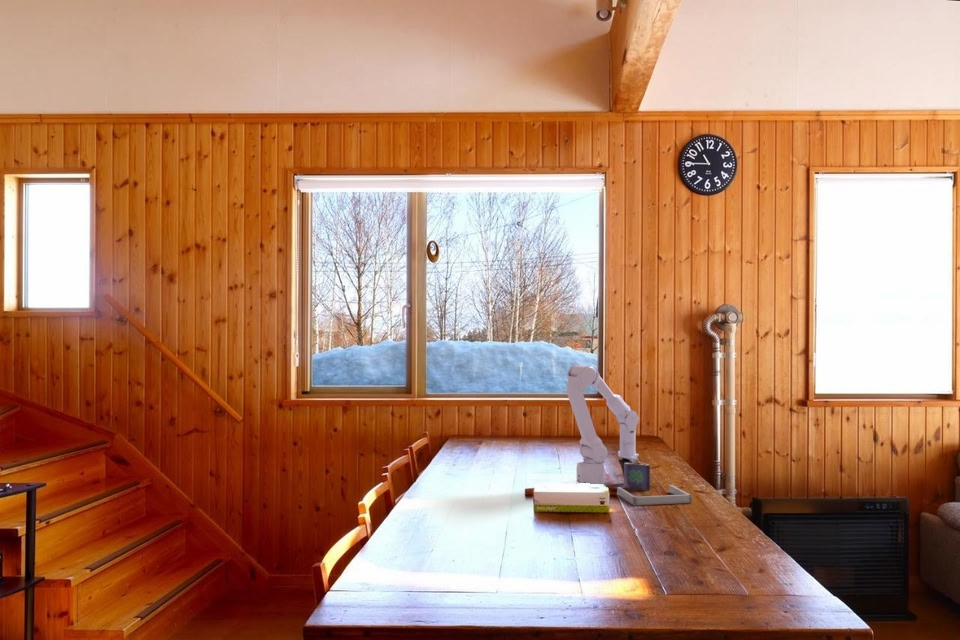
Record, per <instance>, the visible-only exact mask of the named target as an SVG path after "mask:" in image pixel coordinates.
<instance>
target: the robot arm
mask: <svg viewBox="0 0 960 640" xmlns="http://www.w3.org/2000/svg"><path fill="white" fill-rule="evenodd" d="M566 376H567V388H566V393H567V398H568V400H569V403H570V406H571V410H572V413H573V415H574V416H573V417H574V418H575V421H576V422H575V423H576V424H577V428H578V431H579V433H580V436H581V438H580V440H579V445H580V447H579V448H580V449H579V452H580V455H581V457H582V459H583V461H581V462H580V461H579V462H577V464H576V483H577V482H578V483H590V484H604V485H605V467H604V466H605V461H606V460H607V458H608V453H609V452H608V449H607V447H606V446H605V445H604V444H603V440H602V439H601V438H600V437H599V436H598V435H597V433H596V429H595V425H594V424H593V419H592V416H591V414H590V411H589V408H588V405H587V402H586V398H585V395H584V393H585V392H586V390H587V389H588V388H589V387H590V386H593V388H594V389H595V390H596V391H597V392H598V393H599V394H600V395H601V396H602V397H603V398H604V400H606V403H605V404H606V406H607V407H608V408H609V410H611V412H612V413H613V414H614V415H615V418H616V421H617V423H619V450H618V451H617V456H618V457H620V458H621V459H618V463H619V465H620V467H621V471H622V476H623V477H624V463H635V459H638V457H639V453H636V445H637V443H636V441H637V440H636V439H637V438H636V433H637V432H636V431H637V426H638V424H639V421H640V417H639V416H638V413H637V412H636V411H634V410H632V409H631V406H630V405H628V404H627V403H626V402H625V401H624V398H623V396H622V395H619V394H615V393H614V392H613V391H612V390H611V388H610V387H609V386H608V385H607V383H606V382H605V380H604V379H603V378H602V377H601V376H600V372H598V371H597V370H596V369H595V368H594V367H593V366H592V365H582V364H574V365H572V366H571V367H570V368H569V370H568V372H567V373H566ZM638 460H639V459H638Z"/></svg>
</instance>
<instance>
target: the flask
mask: <svg viewBox="0 0 960 640" xmlns="http://www.w3.org/2000/svg"><path fill="white" fill-rule="evenodd" d="M637 458H638V457H637ZM639 459H640V458H638V459H635V463H624V476H623V489H627V490H629V489H631V490H639V491H646V492H647V491H650V489H651V488H650V487H651V467H650V464H649V463H646V462H643V463H642V462H641V461H640V460H639Z"/></svg>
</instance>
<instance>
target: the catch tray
mask: <svg viewBox="0 0 960 640" xmlns="http://www.w3.org/2000/svg"><path fill="white" fill-rule="evenodd" d="M616 493H617V496H619V497H620V498H622V499H623V500H625V501H626V502H628V503H630V504H631V505H633V506H651V505H652V506H653V505H669V504H670V505H671V504H672V505H673V504H692V503H693V502H692V500H693V499H692V494H690V493H689V492H686V491H684V490H683V489H681V488H678V487H677V486H675V485H673V484H669V485H668V493H670V494H668V495H667V494H666V495H647V496H644V495H642V496H635V495H634V494H632V493H630V492H629V491H628V490H625V488H623V487H621V486H618V487H617V489H616Z"/></svg>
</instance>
